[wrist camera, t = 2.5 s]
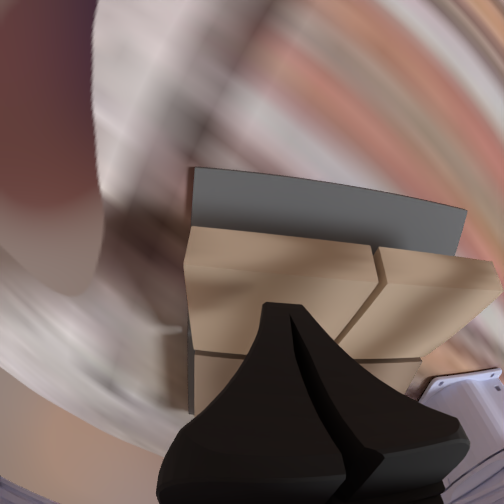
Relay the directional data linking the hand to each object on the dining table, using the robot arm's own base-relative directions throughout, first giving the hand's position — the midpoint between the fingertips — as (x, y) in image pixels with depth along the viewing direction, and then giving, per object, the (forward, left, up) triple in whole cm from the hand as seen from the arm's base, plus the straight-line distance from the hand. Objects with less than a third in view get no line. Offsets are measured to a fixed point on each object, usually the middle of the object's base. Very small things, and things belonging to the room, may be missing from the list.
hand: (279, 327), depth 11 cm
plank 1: (0, +1, -4) cm, 5 cm away
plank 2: (-8, +1, -4) cm, 9 cm away
